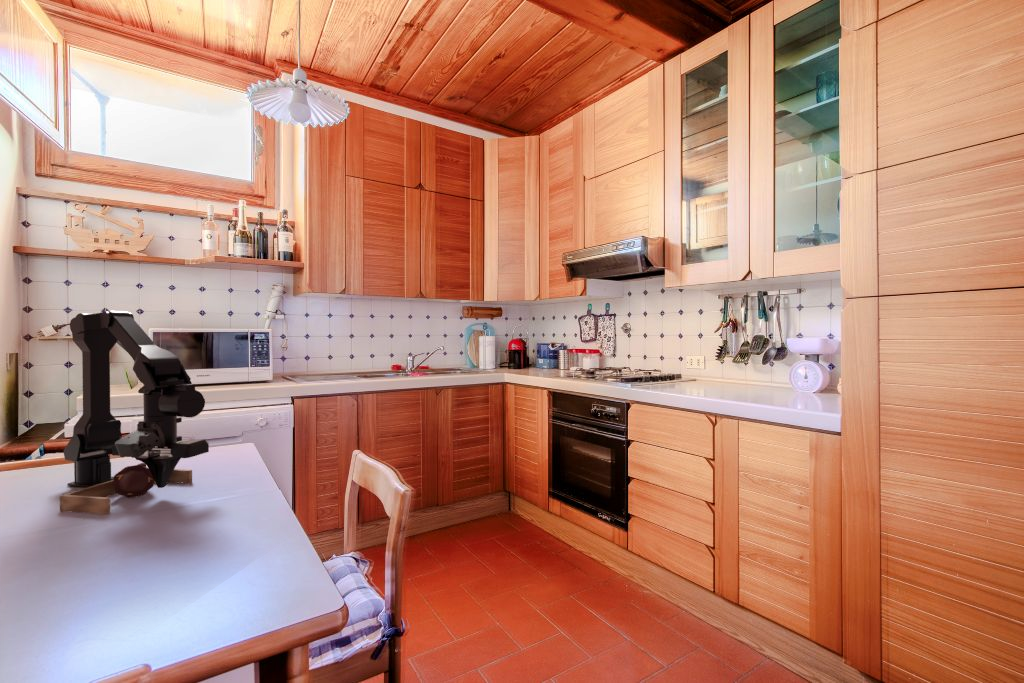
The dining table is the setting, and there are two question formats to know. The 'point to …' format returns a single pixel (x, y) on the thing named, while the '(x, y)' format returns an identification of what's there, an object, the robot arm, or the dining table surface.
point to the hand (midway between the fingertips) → (161, 487)
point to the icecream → (133, 481)
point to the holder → (105, 495)
